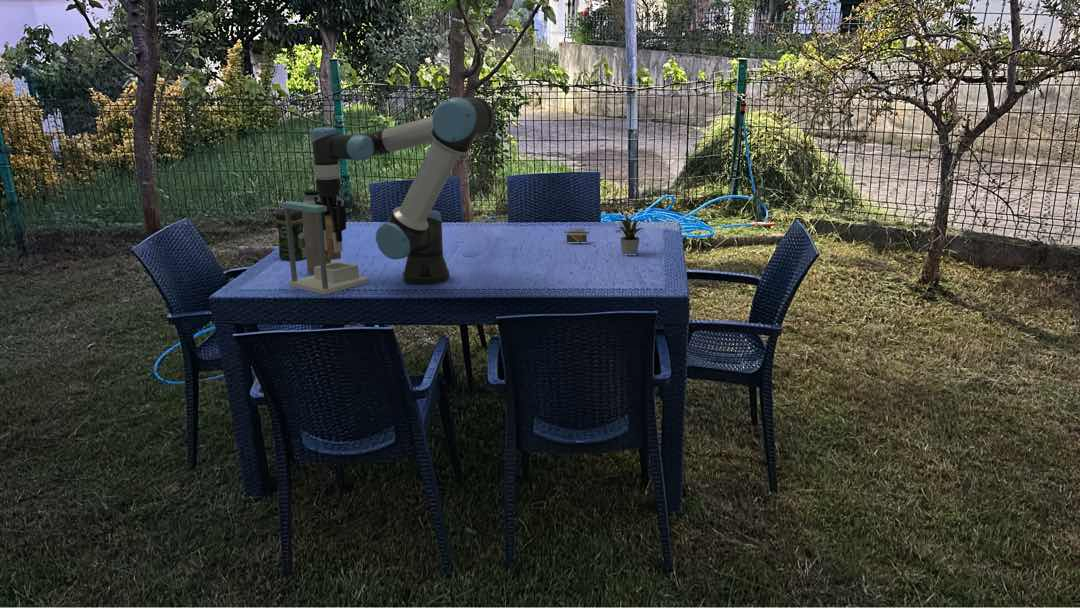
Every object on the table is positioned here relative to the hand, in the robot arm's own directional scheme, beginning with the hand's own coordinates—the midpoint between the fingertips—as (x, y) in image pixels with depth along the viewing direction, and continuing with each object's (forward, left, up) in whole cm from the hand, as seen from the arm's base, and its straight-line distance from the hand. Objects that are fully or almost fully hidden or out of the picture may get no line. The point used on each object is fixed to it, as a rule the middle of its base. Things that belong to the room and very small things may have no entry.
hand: (333, 250), depth 251 cm
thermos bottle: (+16, -5, -11) cm, 20 cm away
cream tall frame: (0, +3, -11) cm, 11 cm away
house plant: (-55, -89, -11) cm, 105 cm away
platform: (-29, -94, -11) cm, 99 cm away
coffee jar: (+42, -13, -11) cm, 45 cm away
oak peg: (0, 0, -3) cm, 3 cm away
